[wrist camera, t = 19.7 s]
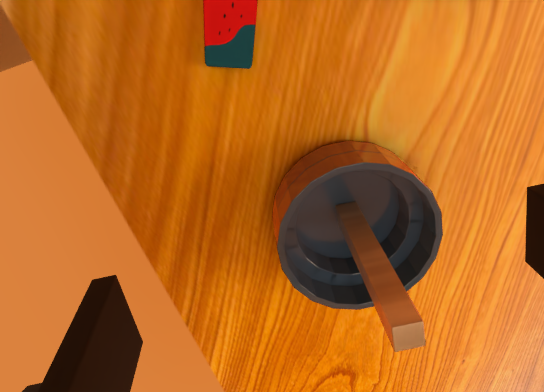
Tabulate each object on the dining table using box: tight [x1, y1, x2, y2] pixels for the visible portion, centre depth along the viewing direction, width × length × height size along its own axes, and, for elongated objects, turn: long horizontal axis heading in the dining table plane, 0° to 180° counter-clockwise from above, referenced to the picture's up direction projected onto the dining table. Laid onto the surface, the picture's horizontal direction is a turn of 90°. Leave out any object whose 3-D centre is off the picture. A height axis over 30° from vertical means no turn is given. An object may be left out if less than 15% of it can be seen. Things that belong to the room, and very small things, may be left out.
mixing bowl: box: [272, 141, 443, 310], centre depth 44 cm, size 14×14×6 cm
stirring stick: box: [335, 201, 425, 352], centre depth 38 cm, size 2×2×18 cm
